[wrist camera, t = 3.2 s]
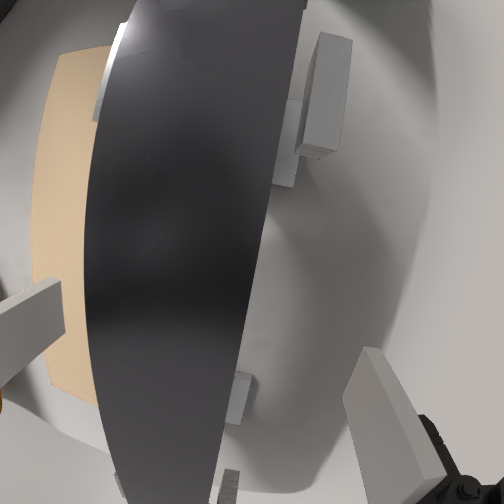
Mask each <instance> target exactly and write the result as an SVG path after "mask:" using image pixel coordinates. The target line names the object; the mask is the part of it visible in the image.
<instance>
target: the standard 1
mask: <svg viewBox="0 0 504 504" xmlns="http://www.w3.org/2000/svg"><path fill="white" fill-rule="evenodd" d="M251 378H252V374H248V373H242V372H237V371H235V375H234V380H233V385H232V390H231V395H230V400H229V404H228V409H227V414H226V419H225V423H229V424H235V425H240V424H241V420H242V416H243V412H244V408H245V404H246V400H247V396H248V392H249V388H250V384H251ZM239 474H240V471H236V470H230V469H225V470H224V474H223V478H222V482H221V486H220V490H219V494H218V500H217V504H236V497H237V490H238V482H239ZM114 476H115V479H116V482H117V484H118V487H119V490H120V492H121V494H122V497H124V498H126V497H125V495H124V492H123V489H122V487H121V484H120V481H119V478H118V475H117V472H115V474H114Z"/></svg>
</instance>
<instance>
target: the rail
mask: <svg viewBox="0 0 504 504" xmlns="http://www.w3.org/2000/svg"><path fill="white" fill-rule="evenodd" d="M307 1H308V0H137V1H136V3H135V5H134V7H133V10H132V12H131V15H130V17H129V19H128V22H127V25H126V27H125V30H124V32H123V35H122V38H121V41H120V44H119V46H118V49H117V52H116V55H115V58H114V62H113V65H112V68H111V72H110V75H109V78H108V82H107V86H106V90H105V93H104V97H103V101H102V106H101V110H100V115H99V119H98V124H97V129H96V134H95V140H94V145H93V151H92V158H91V165H90V172H89V180H88V189H87V199H86V211H85V227H84V300H85V316H86V328H87V338H88V347H89V355H90V362H91V369H92V375H93V381H94V387H95V392H96V397H97V402H98V407H99V411H100V416H101V420H102V424H103V428H104V432H105V436H106V440H107V443H108V447H109V450H110V454H111V457H112V460H113V463H114V466H115V469H116V472H117V475H118V478H119V481H120V484H121V487H122V489H123V492H124V495H125V497H126V500H127V502H128V504H209V503H208V502H209V497H210V492H211V487H212V483H213V478H214V473H215V468H216V463H217V458H218V454H219V449H220V444H221V439H222V434H223V429H224V424H225V419H226V414H227V409H228V404H229V400H230V395H231V390H232V385H233V380H234V375H235V370H236V365H237V360H238V355H239V349H240V344H241V339H242V334H243V329H244V324H245V319H246V314H247V309H248V304H249V299H250V293H251V288H252V283H253V278H254V273H255V268H256V263H257V257H258V252H259V247H260V242H261V236H262V231H263V226H264V221H265V216H266V210H267V205H268V200H269V194H270V189H271V184H272V178H273V173H274V168H275V162H276V157H277V152H278V146H279V141H280V136H281V130H282V125H283V119H284V114H285V108H286V103H287V97H288V92H289V86H290V81H291V75H292V70H293V64H294V59H295V53H296V48H297V42H298V36H299V31H300V25H301V19H302V14H303V9H305V10H306V6H307Z"/></svg>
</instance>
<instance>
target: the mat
mask: <svg viewBox="0 0 504 504" xmlns="http://www.w3.org/2000/svg"><path fill="white" fill-rule="evenodd" d="M112 46H113V45H107V46H101V47H94V48H89V49H83V50H78V51H73V52H69V53H64V54H60V55H59V58H58V61H57V64H56V67H55V70H54V74H53V77H52V80H51V84H50V87H49V91H48V95H47V99H46V103H45V107H44V111H43V116H42V121H41V126H40V131H39V137H38V143H37V149H36V156H35V164H34V172H33V183H32V196H31V221H30V242H31V267H32V280H33V284H35V283H37V282H39V281H41V280H43V279H45V278H47V277H49V276H50V277H53V278H56V279H59V280H61V289H62V303H63V313H64V322H65V330H66V333H65V334H64V335H62V336H61V337H60V338H59V339H58V340H56V341H55V342H54V343H53V344H51V345H50V346H49V347H48V348H47V349H45V350H44V351H43V353H44V357H45V361H46V365H47V369H48V373H49V377H50V381H51V384H52V385H53V386H55V387H57V388H59V389H61V390H63V391H65V392H67V393H69V394H71V395H73V396H75V397H77V398H79V399H82V400H84V401H86V402H88V403H91V404H93V405H95V406H98V402H97V397H96V392H95V387H94V381H93V375H92V369H91V362H90V355H89V347H88V338H87V328H86V316H85V300H84V227H85V211H86V199H87V189H88V180H89V172H90V165H91V158H92V151H93V145H94V140H95V134H96V129H97V124H98V123H97V122H93V121H92V117H93V113H94V108H95V104H96V100H97V96H98V92H99V88H100V85H101V81H102V77H103V74H104V70H105V67H106V64H107V61H108V58H109V55H110V52H111V49H112Z"/></svg>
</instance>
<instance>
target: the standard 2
mask: <svg viewBox="0 0 504 504" xmlns="http://www.w3.org/2000/svg"><path fill="white" fill-rule="evenodd" d="M126 25H127V23H122V24H120V27H119V29H118V32H117V35H116V37H115V40H114V43H113V46H112V49H111V52H110V55H109V58H108V61H107V64H106V67H105V70H104V74H103V77H102V81H101V85H100V88H99V92H98V96H97V100H96V104H95V108H94V113H93V117H92V121H93V122H97V123H98V119H99V115H100V110H101V106H102V101H103V97H104V93H105V90H106V86H107V82H108V78H109V75H110V72H111V68H112V65H113V62H114V58H115V55H116V52H117V49H118V46H119V44H120V41H121V38H122V35H123V32H124V30H125V27H126ZM352 42H353V40H351V39H347V38H344V37H340V36H336V35H332V34H328V33H324V32H320V35H319V38H318V41H317V44H316V47H315V50H314V53H313V56H312V59H311V62H310V65H309V69H308V75H307V81H306V87H305V93H304V98H303V102H301V101H296V100H291V99H287V103H286V108H285V114H284V119H283V125H282V130H281V136H280V141H279V146H278V152H277V157H276V162H275V168H274V173H273V178H272V184H276V185H281V186H286V187H291V188H293V187H294V182H295V177H296V172H297V166H298V161H299V155H300V156H305V157H309V158H314V159H318V160H320V159H322V158H324V157H326V156H328V155H330V154H332V153H334V152H337V151H338V147H339V141H340V135H341V128H342V122H343V115H344V109H345V102H346V94H347V87H348V79H349V70H350V62H351V52H352Z"/></svg>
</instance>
